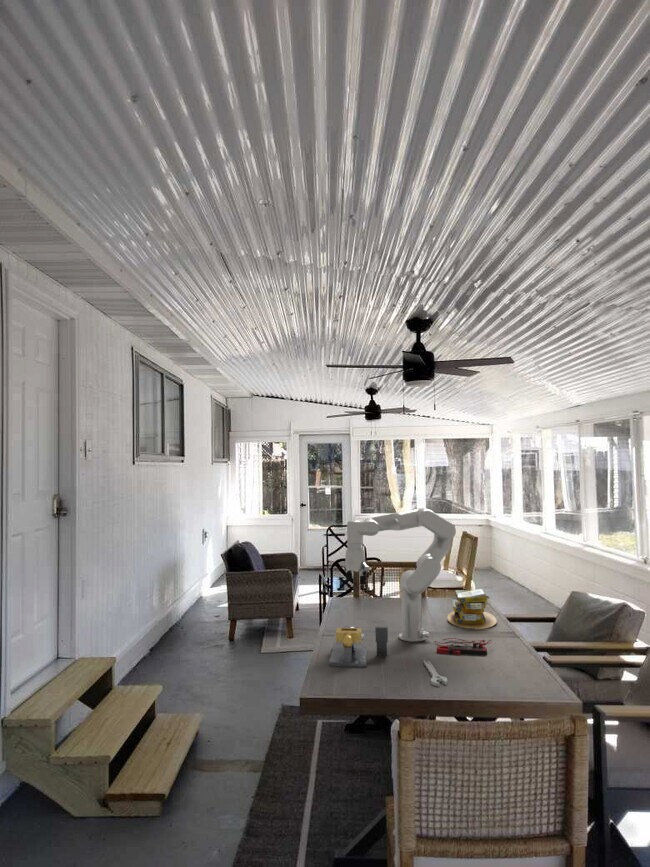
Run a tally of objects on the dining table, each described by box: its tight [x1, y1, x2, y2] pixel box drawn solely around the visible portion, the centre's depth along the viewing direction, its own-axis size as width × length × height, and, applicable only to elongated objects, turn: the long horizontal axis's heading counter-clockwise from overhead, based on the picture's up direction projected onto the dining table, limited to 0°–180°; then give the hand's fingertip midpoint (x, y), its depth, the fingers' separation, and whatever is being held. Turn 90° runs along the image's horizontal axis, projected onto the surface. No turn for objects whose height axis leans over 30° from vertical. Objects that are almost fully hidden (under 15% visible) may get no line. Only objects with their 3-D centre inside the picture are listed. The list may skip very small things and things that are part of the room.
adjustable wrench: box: [423, 659, 448, 687], centre depth 216 cm, size 25×6×2 cm, turn 178°
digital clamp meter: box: [434, 637, 492, 656], centre depth 248 cm, size 23×4×25 cm
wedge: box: [375, 626, 389, 657], centre depth 237 cm, size 2×5×12 cm, turn 84°
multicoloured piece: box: [328, 624, 368, 668], centre depth 237 cm, size 25×15×11 cm, turn 174°
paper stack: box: [446, 588, 498, 630], centre depth 289 cm, size 25×25×17 cm
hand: (356, 582), depth 261 cm, fingers open, 9 cm apart
